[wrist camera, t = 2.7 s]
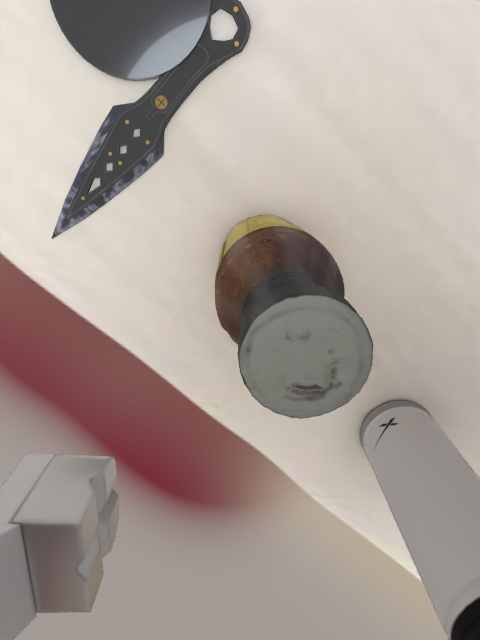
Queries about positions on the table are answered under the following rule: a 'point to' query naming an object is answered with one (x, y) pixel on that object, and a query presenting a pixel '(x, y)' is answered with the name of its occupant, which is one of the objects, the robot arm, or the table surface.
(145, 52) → the round mirror
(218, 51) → the throwing knife
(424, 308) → the table surface
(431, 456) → the travel mug
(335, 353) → the sauce bottle
